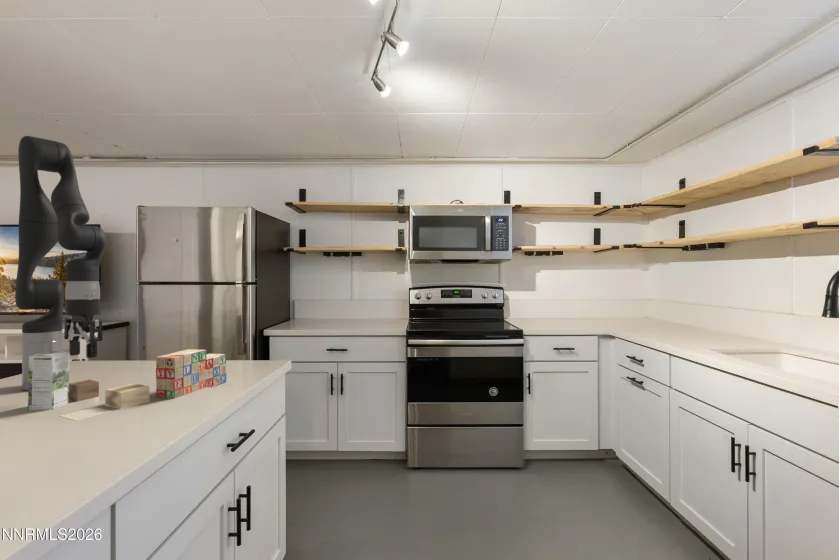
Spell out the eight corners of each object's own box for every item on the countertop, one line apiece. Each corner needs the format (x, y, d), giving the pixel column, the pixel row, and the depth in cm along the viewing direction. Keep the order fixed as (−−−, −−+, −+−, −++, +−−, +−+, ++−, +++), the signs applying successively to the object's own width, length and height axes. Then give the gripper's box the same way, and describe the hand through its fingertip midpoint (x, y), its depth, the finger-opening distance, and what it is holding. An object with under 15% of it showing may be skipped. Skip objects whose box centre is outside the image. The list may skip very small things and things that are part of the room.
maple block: (105, 404, 107) (105, 389, 107) (133, 397, 113) (133, 383, 113) (121, 408, 104) (121, 392, 104) (149, 401, 110) (149, 386, 110)
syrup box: (46, 405, 108) (46, 351, 108) (70, 405, 109) (70, 350, 109) (27, 412, 103) (27, 355, 103) (52, 412, 103) (52, 354, 103)
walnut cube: (67, 401, 112) (67, 383, 112) (88, 397, 117) (88, 379, 117) (77, 404, 110) (77, 385, 110) (98, 399, 115) (98, 381, 115)
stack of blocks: (210, 381, 135) (210, 344, 135) (226, 382, 134) (226, 344, 134) (155, 400, 114) (155, 356, 114) (174, 401, 113) (174, 357, 113)
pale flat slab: (44, 414, 101) (44, 411, 101) (120, 396, 117) (120, 394, 117) (78, 424, 95) (78, 421, 95) (153, 403, 110) (153, 401, 110)
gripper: (52, 297, 113) (52, 356, 113) (81, 298, 107) (81, 360, 107) (84, 296, 120) (84, 352, 120) (112, 297, 114) (113, 356, 113)
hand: (83, 356), depth 113 cm, fingers open, 8 cm apart
